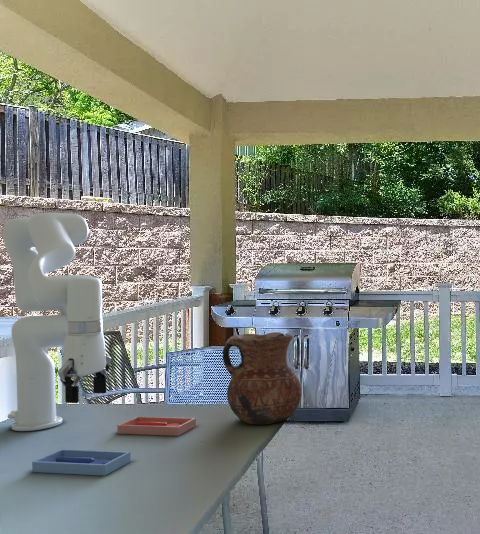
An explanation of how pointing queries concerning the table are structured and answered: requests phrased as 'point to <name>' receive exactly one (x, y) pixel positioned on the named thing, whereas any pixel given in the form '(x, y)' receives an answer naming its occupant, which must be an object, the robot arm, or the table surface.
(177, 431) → the rose tray
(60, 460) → the navy spoon
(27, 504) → the table surface
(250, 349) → the jug
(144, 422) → the red spoon
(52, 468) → the blue tray
